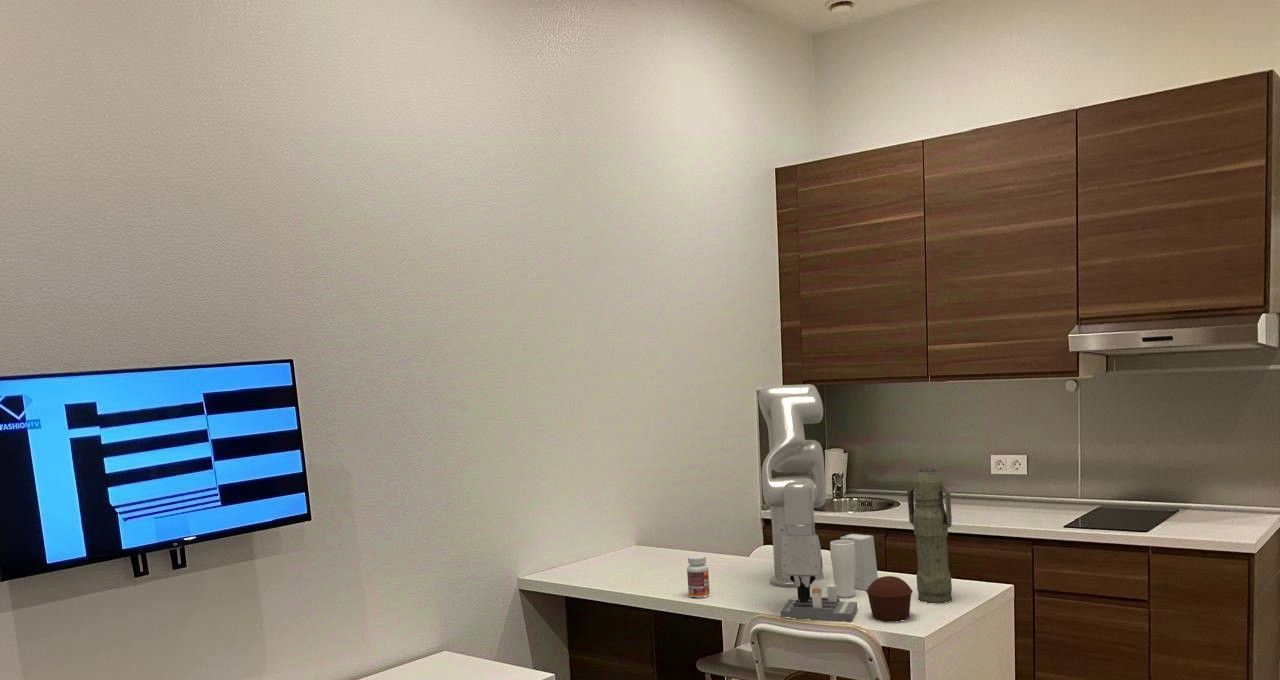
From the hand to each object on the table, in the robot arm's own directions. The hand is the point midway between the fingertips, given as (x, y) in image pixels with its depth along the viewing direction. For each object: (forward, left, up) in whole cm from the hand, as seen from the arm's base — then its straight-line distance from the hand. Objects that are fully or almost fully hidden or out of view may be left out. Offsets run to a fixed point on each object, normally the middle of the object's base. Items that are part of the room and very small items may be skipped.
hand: (804, 601), depth 237 cm
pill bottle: (-17, -34, -4) cm, 38 cm away
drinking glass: (-23, +7, -4) cm, 25 cm away
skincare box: (-34, +10, -4) cm, 36 cm away
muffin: (-3, +21, -4) cm, 22 cm away
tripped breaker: (0, +3, -2) cm, 4 cm away
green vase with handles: (-22, +31, -4) cm, 39 cm away
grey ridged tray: (-3, +3, -4) cm, 6 cm away
